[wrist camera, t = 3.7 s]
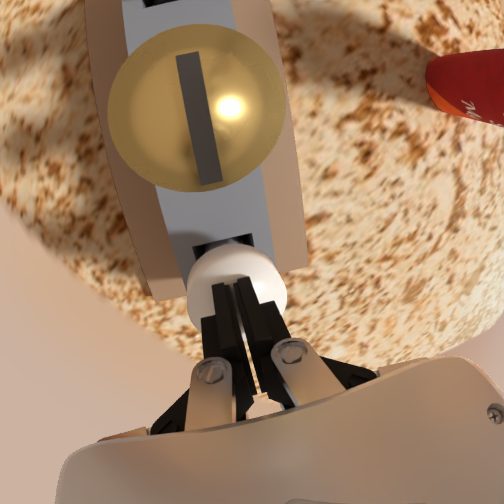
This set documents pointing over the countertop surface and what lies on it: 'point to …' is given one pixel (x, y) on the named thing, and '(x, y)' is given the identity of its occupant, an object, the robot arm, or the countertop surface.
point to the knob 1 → (162, 1)
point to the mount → (209, 202)
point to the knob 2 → (231, 278)
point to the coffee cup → (469, 85)
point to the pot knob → (196, 108)
